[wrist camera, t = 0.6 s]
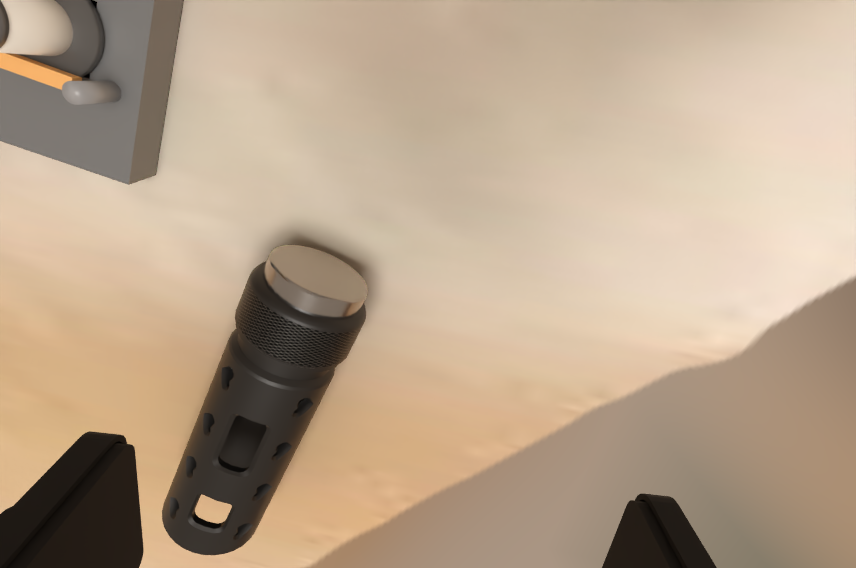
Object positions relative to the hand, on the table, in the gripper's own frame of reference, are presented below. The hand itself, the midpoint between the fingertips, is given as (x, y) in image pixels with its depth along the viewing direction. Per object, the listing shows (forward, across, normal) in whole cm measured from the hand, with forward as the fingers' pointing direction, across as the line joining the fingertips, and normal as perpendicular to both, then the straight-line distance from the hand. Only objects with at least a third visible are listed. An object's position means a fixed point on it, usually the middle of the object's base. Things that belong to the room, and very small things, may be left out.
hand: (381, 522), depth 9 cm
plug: (+34, +25, -8) cm, 43 cm away
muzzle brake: (+35, +10, +20) cm, 41 cm away
